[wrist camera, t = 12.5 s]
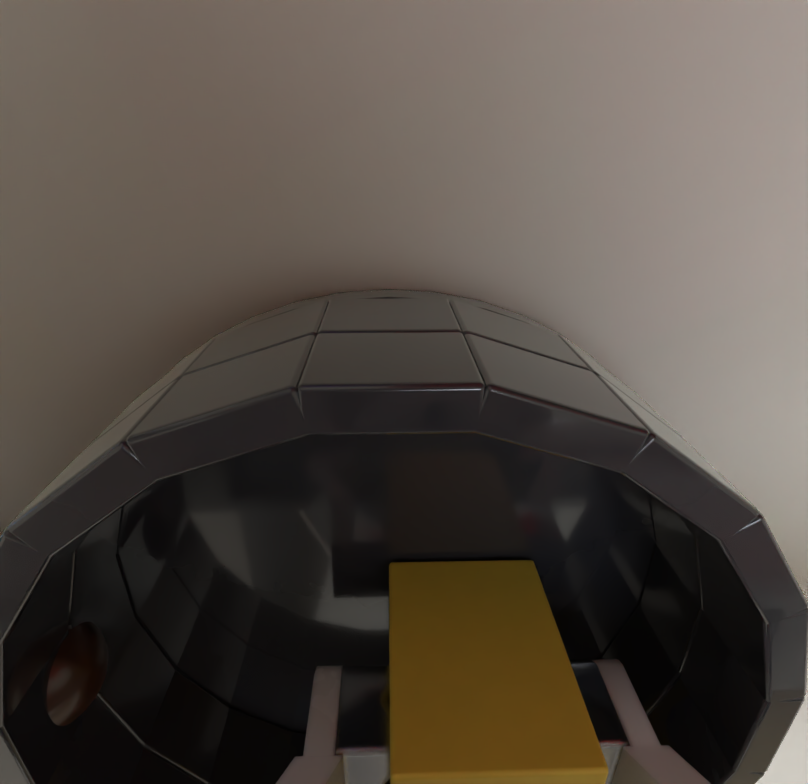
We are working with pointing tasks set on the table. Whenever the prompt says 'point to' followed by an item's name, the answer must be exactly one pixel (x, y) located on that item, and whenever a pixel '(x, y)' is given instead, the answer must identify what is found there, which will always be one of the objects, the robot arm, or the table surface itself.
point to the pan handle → (77, 673)
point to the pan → (380, 542)
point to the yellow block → (482, 680)
